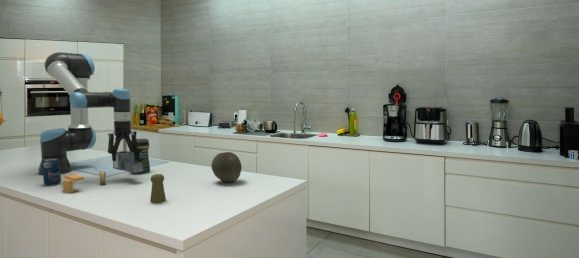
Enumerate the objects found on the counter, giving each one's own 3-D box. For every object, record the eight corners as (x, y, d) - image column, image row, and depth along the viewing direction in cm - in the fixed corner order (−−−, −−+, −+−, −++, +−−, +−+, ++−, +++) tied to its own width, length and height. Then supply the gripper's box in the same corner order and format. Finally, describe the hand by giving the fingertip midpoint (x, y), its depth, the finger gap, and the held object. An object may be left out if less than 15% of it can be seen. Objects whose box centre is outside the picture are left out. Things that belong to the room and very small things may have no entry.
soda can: (51, 186, 168) (49, 161, 167) (40, 185, 170) (38, 160, 169) (64, 183, 175) (63, 158, 174) (53, 181, 177) (52, 157, 176)
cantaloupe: (230, 177, 188) (230, 148, 186) (247, 182, 178) (247, 152, 176) (206, 182, 178) (206, 152, 176) (223, 187, 168) (222, 155, 166)
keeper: (61, 190, 162) (60, 176, 161) (75, 187, 167) (74, 174, 166) (70, 193, 157) (69, 179, 156) (84, 190, 162) (83, 176, 161)
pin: (99, 184, 173) (98, 172, 172) (104, 183, 174) (103, 171, 174) (101, 185, 171) (101, 172, 171) (106, 184, 173) (106, 171, 172)
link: (144, 170, 177) (144, 154, 176) (131, 173, 171) (131, 156, 170) (126, 165, 186) (126, 150, 185) (113, 168, 181) (112, 152, 180)
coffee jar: (136, 175, 192) (134, 140, 190) (128, 173, 197) (126, 139, 195) (152, 172, 199) (151, 138, 197) (145, 170, 204) (143, 137, 202)
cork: (160, 197, 152) (159, 172, 151) (169, 200, 148) (168, 174, 147) (147, 201, 147) (146, 174, 146) (156, 204, 144) (155, 176, 142)
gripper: (106, 122, 168) (107, 170, 171) (145, 119, 184) (146, 163, 187) (98, 121, 173) (99, 168, 175) (136, 118, 189) (137, 161, 192)
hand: (123, 165), depth 181 cm, fingers closed on link, 7 cm apart
